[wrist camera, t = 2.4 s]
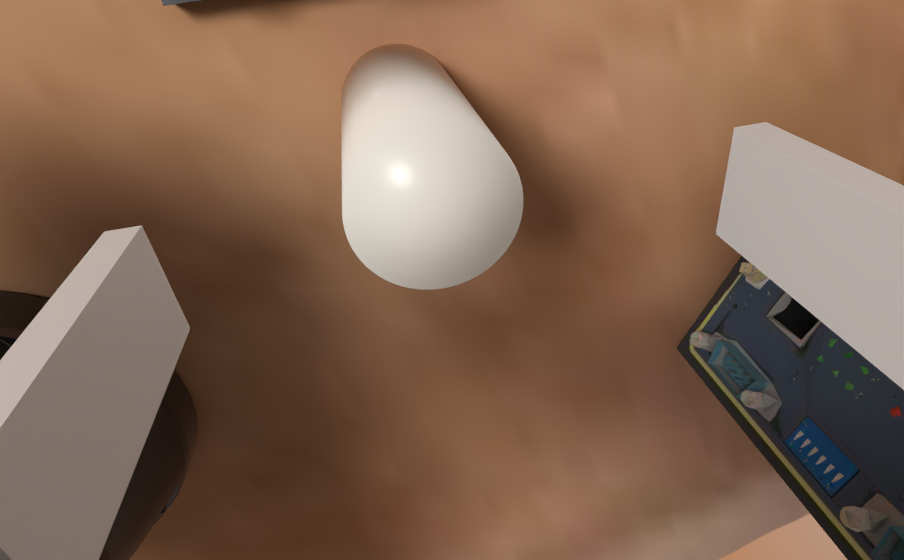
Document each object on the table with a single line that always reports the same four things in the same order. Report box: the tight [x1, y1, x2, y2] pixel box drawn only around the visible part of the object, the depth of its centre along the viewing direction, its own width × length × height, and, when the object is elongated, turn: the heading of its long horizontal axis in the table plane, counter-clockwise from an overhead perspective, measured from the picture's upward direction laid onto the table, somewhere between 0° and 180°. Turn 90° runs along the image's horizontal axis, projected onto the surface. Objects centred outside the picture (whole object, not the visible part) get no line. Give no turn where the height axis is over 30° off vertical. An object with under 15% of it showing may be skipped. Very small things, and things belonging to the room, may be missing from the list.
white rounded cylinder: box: [341, 44, 523, 290], centre depth 17 cm, size 4×4×10 cm
